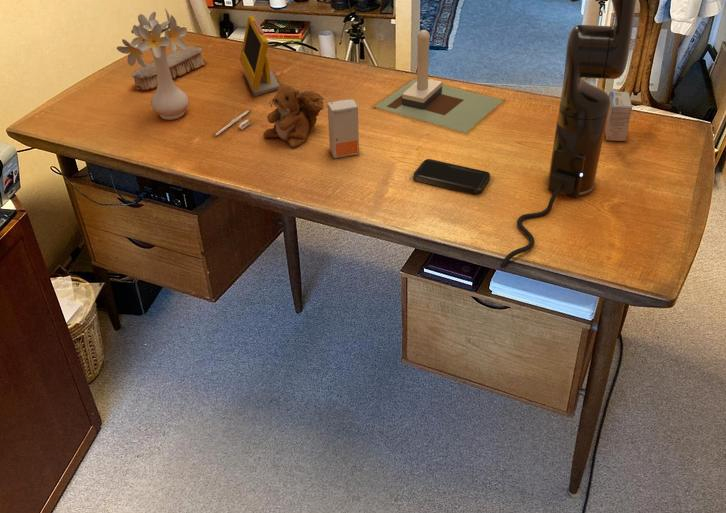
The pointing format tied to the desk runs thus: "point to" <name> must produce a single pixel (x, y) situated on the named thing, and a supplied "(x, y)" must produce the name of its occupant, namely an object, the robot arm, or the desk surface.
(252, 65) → the yellow framed monitor
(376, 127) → the desk surface
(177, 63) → the shoe brush
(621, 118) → the medicine box
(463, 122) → the desk mat
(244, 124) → the pen with cap
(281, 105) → the stuffed squirrel
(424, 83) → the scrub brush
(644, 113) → the desk surface
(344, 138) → the cosmetic box
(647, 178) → the desk surface
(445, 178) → the phone
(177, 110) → the flower vase
